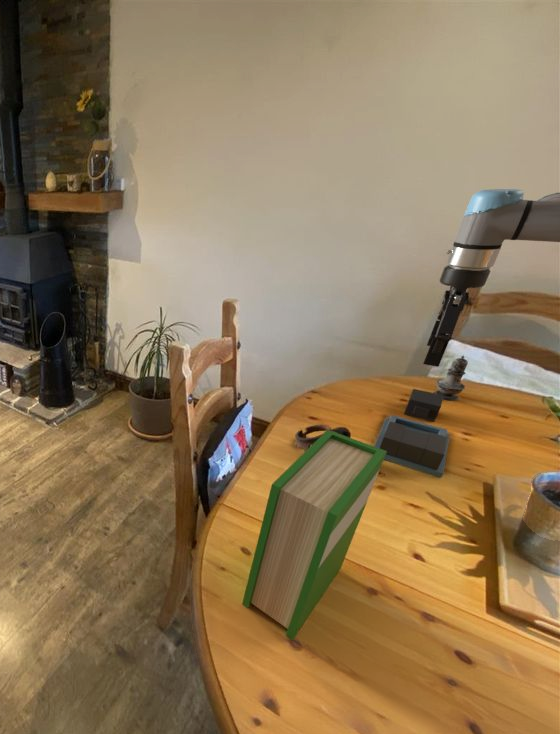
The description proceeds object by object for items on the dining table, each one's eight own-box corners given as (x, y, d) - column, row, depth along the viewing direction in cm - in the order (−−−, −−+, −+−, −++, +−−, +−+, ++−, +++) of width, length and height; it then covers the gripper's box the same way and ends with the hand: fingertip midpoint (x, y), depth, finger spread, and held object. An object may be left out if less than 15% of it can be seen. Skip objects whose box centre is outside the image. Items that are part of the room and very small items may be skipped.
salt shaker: (426, 393, 115) (442, 353, 109) (441, 389, 116) (458, 349, 110) (449, 403, 110) (468, 361, 104) (465, 398, 111) (484, 357, 105)
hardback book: (292, 640, 59) (337, 515, 48) (242, 604, 64) (271, 484, 53) (340, 568, 68) (387, 451, 57) (293, 542, 73) (327, 429, 62)
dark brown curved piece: (329, 477, 88) (315, 443, 87) (294, 468, 97) (281, 438, 96) (370, 450, 90) (356, 417, 90) (332, 444, 100) (319, 414, 99)
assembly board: (448, 438, 97) (456, 419, 94) (441, 478, 85) (450, 457, 83) (384, 421, 104) (391, 403, 102) (370, 455, 93) (377, 436, 90)
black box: (436, 410, 107) (443, 395, 105) (433, 423, 102) (440, 408, 100) (407, 403, 111) (413, 388, 109) (402, 415, 106) (408, 400, 104)
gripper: (446, 255, 101) (416, 336, 111) (443, 277, 85) (408, 369, 95) (489, 257, 97) (453, 341, 107) (494, 281, 81) (451, 378, 91)
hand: (432, 355), depth 101 cm, fingers open, 13 cm apart
